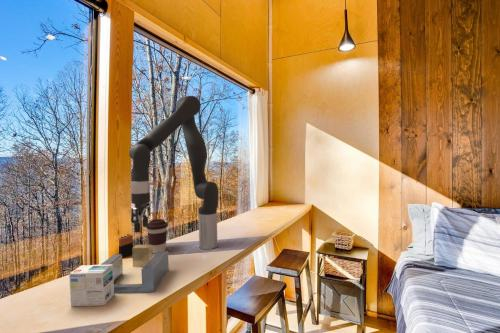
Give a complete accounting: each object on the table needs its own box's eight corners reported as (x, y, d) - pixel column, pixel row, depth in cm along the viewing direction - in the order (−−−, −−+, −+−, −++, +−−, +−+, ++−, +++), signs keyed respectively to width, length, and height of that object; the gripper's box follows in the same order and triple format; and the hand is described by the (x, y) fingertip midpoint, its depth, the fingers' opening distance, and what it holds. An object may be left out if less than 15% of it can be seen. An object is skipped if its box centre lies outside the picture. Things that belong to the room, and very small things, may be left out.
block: (136, 262, 116) (136, 244, 116) (152, 262, 116) (152, 244, 116) (132, 266, 112) (132, 248, 112) (149, 266, 112) (148, 247, 112)
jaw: (107, 273, 105) (106, 254, 104) (124, 273, 105) (123, 254, 105) (89, 289, 93) (88, 267, 92) (108, 288, 93) (107, 267, 93)
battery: (115, 257, 123) (114, 235, 122) (127, 252, 129) (127, 232, 128) (121, 258, 121) (120, 237, 120) (133, 253, 127) (133, 233, 126)
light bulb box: (115, 294, 89) (113, 263, 89) (104, 306, 83) (103, 272, 82) (82, 295, 89) (81, 264, 89) (69, 307, 82) (68, 273, 82)
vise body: (104, 271, 107) (103, 252, 107) (168, 270, 107) (168, 251, 107) (77, 293, 90) (76, 270, 90) (153, 292, 91) (153, 269, 90)
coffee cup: (161, 255, 124) (160, 223, 123) (142, 254, 126) (141, 222, 125) (172, 247, 134) (171, 218, 133) (154, 246, 136) (153, 217, 135)
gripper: (142, 193, 105) (143, 234, 106) (155, 189, 120) (156, 225, 120) (123, 194, 105) (125, 234, 106) (138, 189, 120) (139, 225, 120)
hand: (141, 229), depth 113 cm, fingers open, 8 cm apart
